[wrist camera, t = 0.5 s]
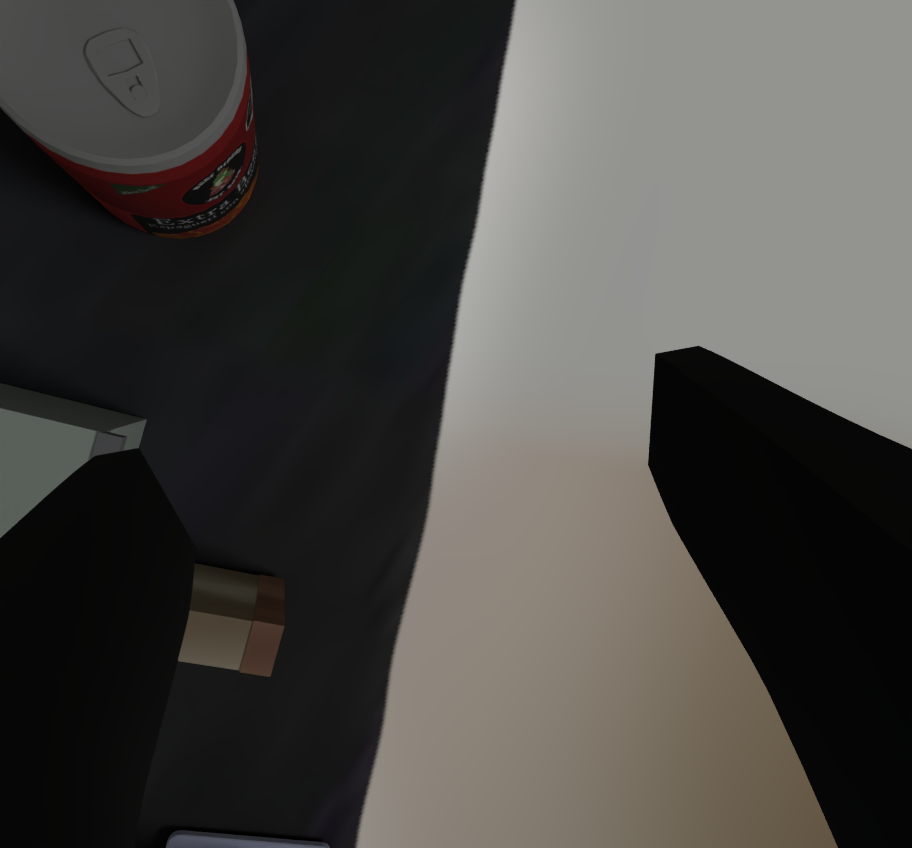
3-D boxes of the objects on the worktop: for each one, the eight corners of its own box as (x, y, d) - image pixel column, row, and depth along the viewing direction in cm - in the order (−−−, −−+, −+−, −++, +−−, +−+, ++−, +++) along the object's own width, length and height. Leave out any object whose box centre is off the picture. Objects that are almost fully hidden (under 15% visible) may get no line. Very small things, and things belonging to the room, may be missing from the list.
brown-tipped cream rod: (272, 620, 31) (269, 676, 25) (-54, 563, 27) (-146, 613, 22) (284, 579, 31) (284, 625, 25) (-40, 516, 27) (-129, 553, 22)
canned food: (172, 277, 29) (109, 220, 19) (33, 134, 28) (-124, -17, 17) (296, 172, 31) (302, 63, 20) (170, 28, 29) (103, -176, 18)
